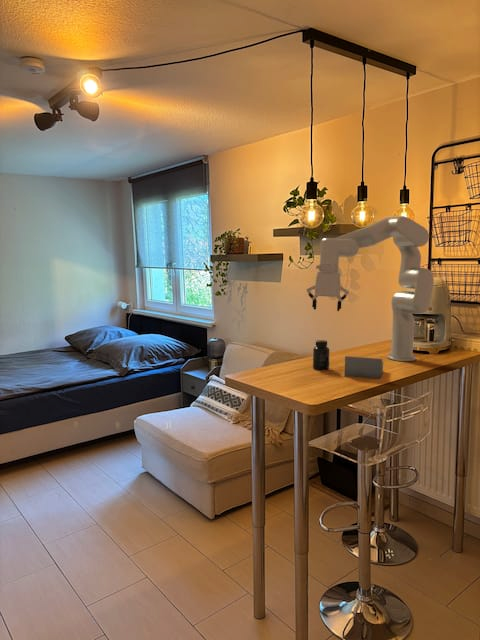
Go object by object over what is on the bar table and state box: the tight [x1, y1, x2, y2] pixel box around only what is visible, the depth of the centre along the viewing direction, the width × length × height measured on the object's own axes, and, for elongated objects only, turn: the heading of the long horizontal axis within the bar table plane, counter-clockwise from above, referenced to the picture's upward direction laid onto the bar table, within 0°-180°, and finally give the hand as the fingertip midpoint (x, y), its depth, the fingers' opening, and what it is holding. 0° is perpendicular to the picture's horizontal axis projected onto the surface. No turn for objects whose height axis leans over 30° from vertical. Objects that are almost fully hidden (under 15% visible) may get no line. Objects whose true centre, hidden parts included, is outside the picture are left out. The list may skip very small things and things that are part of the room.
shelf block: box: [344, 355, 384, 380], centre depth 189 cm, size 14×14×8 cm
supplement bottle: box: [312, 339, 330, 371], centre depth 196 cm, size 7×7×12 cm
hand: (326, 310), depth 193 cm, fingers open, 9 cm apart
